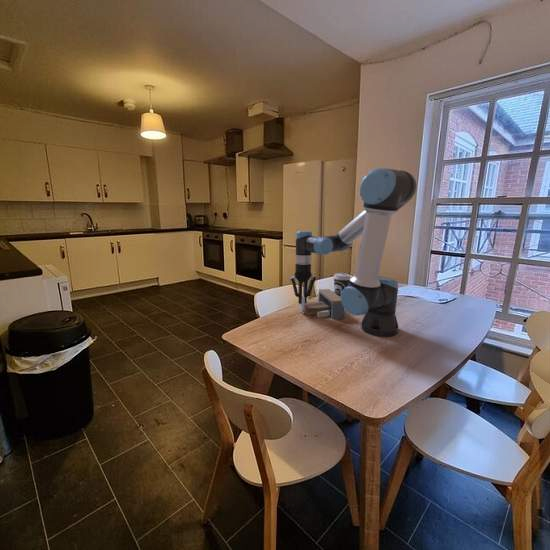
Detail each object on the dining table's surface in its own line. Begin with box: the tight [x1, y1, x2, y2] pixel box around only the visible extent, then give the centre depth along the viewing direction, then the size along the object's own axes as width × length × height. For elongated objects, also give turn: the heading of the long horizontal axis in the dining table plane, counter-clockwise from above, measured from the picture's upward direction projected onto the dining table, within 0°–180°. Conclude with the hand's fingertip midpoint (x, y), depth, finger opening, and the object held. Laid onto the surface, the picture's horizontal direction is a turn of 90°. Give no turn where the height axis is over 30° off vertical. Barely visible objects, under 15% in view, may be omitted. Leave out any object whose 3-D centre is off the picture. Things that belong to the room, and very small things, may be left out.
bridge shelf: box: [316, 288, 345, 319], centre depth 148 cm, size 20×12×9 cm, turn 11°
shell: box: [302, 301, 330, 316], centre depth 148 cm, size 9×12×4 cm
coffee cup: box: [333, 272, 351, 297], centre depth 165 cm, size 10×10×15 cm
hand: (302, 309), depth 146 cm, fingers closed
